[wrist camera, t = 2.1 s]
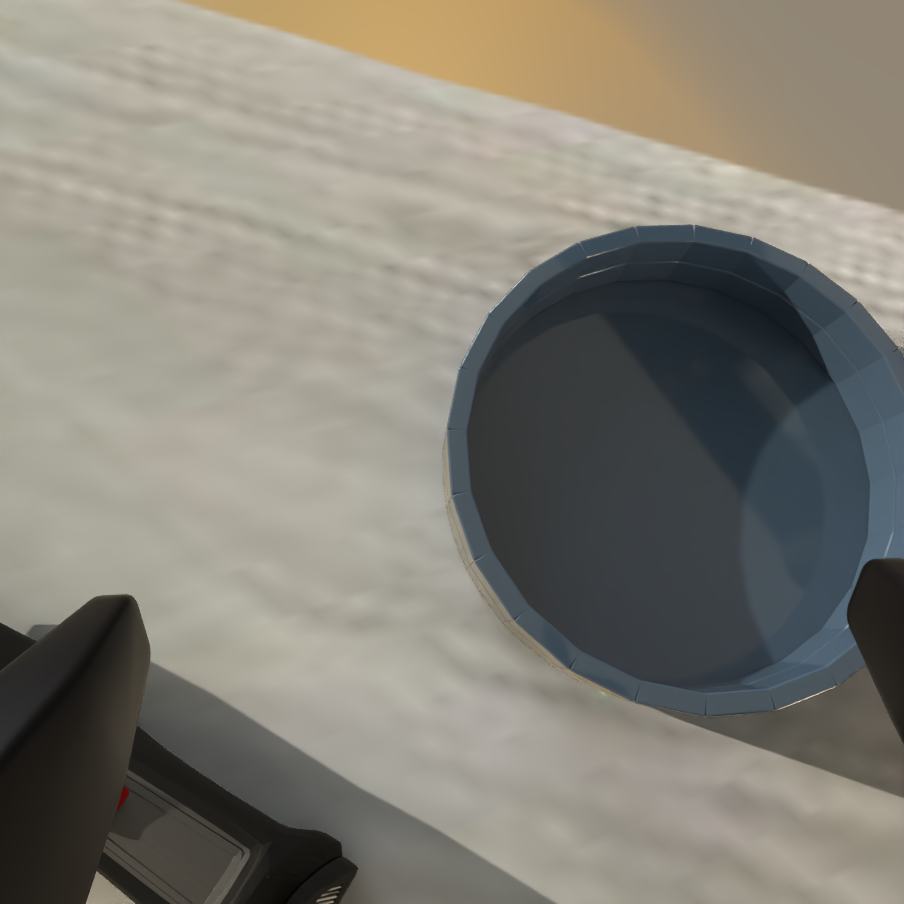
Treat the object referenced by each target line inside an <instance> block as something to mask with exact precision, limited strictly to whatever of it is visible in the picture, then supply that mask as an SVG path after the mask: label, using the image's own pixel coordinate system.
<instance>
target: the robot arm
mask: <svg viewBox="0 0 904 904" xmlns="http://www.w3.org/2000/svg"><path fill="white" fill-rule="evenodd" d="M847 621H848V625H849V628H850V630H851V632H852V635H853V637H854V639H855V641H856V643H857V646H858V648H859V650H860V652H861V654H862V657H863V659H864V661H865V663H866V665H867V667H868V670H869V672H870V674H871V676H872V678H873V681H874V683H875V685H876V687H877V689H878V692H879V694H880V696H881V698H882V700H883V703H884V705H885V707H886V709H887V711H888V714H889V716H890V718H891V720H892V722H893V724H894V726H895V728H896V730H897V732H898V734H899V736H900V738H901V740H902V742H903V744H904V559H902V558H883V559H872V560H869V561H868V562H867V563H866V564H865V565H864V566H863V568H862V570H861V572H860V575H859V578H858V580H857V583H856V585H855V588H854V591H853V593H852V596H851V598H850V601H849V604H848V607H847ZM149 664H150V644H149V640H148V637H147V634H146V630H145V627H144V624H143V620H142V617H141V614H140V610H139V607H138V604H137V602H136V600H135V599H134V597H132V596H131V595H127V594H123V595H102V596H97V597H95V598H93V599H91V600H90V601H88V602H87V603H86V604H85V605H83V606H82V607H81V608H80V609H78V610H77V611H76V612H74V613H73V614H72V615H71V616H69V617H68V618H67V619H66V620H64V621H63V622H62V623H61V624H59V625H58V626H57V627H55V628H54V629H53V630H52V631H50V632H49V633H48V634H47V635H45V636H44V637H43V638H41V639H40V640H39V641H38V642H36V643H35V644H34V645H33V646H31V647H30V648H29V649H28V650H26V651H25V652H24V653H22V654H21V655H20V656H19V657H17V658H16V659H15V660H14V661H12V662H11V663H10V664H9V665H7V666H6V667H5V668H3V669H2V670H1V671H0V904H86V901H87V898H88V895H89V892H90V889H91V886H92V883H93V880H94V877H95V874H96V871H97V868H98V865H99V861H100V858H101V855H102V852H103V849H104V846H105V843H106V840H107V837H108V834H109V831H110V828H111V825H112V822H113V819H114V816H115V813H116V810H117V807H118V803H119V800H120V797H121V793H122V790H123V787H124V782H125V778H126V774H127V770H128V765H129V760H130V756H131V751H132V746H133V741H134V736H135V732H136V727H137V722H138V717H139V713H140V708H141V703H142V698H143V693H144V689H145V684H146V679H147V674H148V670H149Z"/></svg>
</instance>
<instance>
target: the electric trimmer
mask: <svg viewBox="0 0 904 904" xmlns="http://www.w3.org/2000/svg"><path fill="white" fill-rule="evenodd" d="M35 643H36V641H34V640H32V639H30V638H28V637H26V636H25V635H23V634H21V633H19V632H17V631H15V630H13V629H11V628H9V627H7V626H6V625H4V624H2V623H0V671H1V670H2V669H3V668H5V667H6V666H7V665H9V664H10V663H11V662H12V661H14V660H15V659H16V658H17V657H19V656H20V655H21V654H22V653H24V652H25V651H26V650H28V649H29V648H30V647H31V646H33V645H34V644H35ZM357 870H358V868H357V866H356V865H354V864H353V863H352V862H350V861H349V860H348V859H346V858H344V857H342V846H341V843H340V842H339V841H337V840H336V839H334V838H333V837H331V836H329V835H328V834H326V833H323V832H320V831H315V830H304V829H295V828H289V827H286V826H284V825H282V824H280V823H278V822H276V821H275V820H273V819H271V818H270V817H268V816H267V815H265V814H263V813H262V812H260V811H258V810H257V809H255V808H254V807H252V806H250V805H249V804H247V803H245V802H244V801H242V800H240V799H239V798H237V797H236V796H234V795H232V794H231V793H229V792H228V791H226V790H225V789H223V788H222V787H220V786H219V785H217V784H216V783H214V782H213V781H211V780H210V779H208V778H207V777H205V776H204V775H202V774H201V773H199V772H198V771H196V770H195V769H193V768H192V767H190V766H189V765H187V764H186V763H184V762H183V761H181V760H180V759H179V758H177V757H176V756H174V755H173V754H172V753H170V752H169V751H168V750H166V749H165V748H164V747H162V746H161V745H160V744H159V743H158V742H156V741H155V740H154V739H153V738H151V737H150V736H149V735H148V734H146V733H145V732H144V731H143V730H142V729H140V728H139V727H138V726H137V727H136V732H135V736H134V741H133V746H132V751H131V756H130V760H129V765H128V770H127V774H126V778H125V782H124V787H123V790H122V793H121V797H120V800H119V803H118V807H117V810H116V813H115V816H114V819H113V822H112V825H111V828H110V831H109V834H108V837H107V840H106V843H105V846H104V849H103V852H102V855H101V858H100V861H99V865H98V868H97V871H98V872H99V873H100V874H101V875H102V876H104V877H105V878H106V879H107V880H108V881H109V882H111V883H112V884H113V885H114V886H115V887H117V888H118V889H119V890H120V891H121V892H123V893H124V894H125V895H126V896H127V897H129V898H130V899H131V900H132V901H133V902H135V903H136V904H338V903H339V902H340V900H341V898H342V897H343V895H344V893H345V892H346V890H347V888H348V887H349V885H350V883H351V882H352V880H353V878H354V877H355V875H356V872H357Z"/></svg>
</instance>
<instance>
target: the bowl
mask: <svg viewBox="0 0 904 904" xmlns="http://www.w3.org/2000/svg"><path fill="white" fill-rule="evenodd" d="M442 456H443V485H444V492H445V501H446V509H447V514H448V517H449V521H450V525H451V528H452V532H453V536H454V540H455V543H456V545H457V547H458V550H459V552H460V555H461V557H462V559H463V562H464V564H465V567H466V569H467V571H468V573H469V574H470V576H471V578H472V580H473V581H474V583H475V585H476V586H477V588H478V590H479V592H480V593H481V595H482V597H483V598H484V599H485V601H486V602H487V603H488V605H489V606H490V607H491V609H492V610H493V611H494V612H495V614H496V615H497V616H498V618H499V619H500V620H501V622H502V623H503V624H504V625H505V626H506V627H507V628H508V629H509V630H510V631H511V632H512V633H513V634H514V635H515V636H516V637H517V638H518V639H519V640H520V641H521V642H522V643H523V644H524V645H526V646H527V647H528V648H530V649H531V650H532V651H533V652H535V653H536V654H537V655H538V656H540V657H541V658H542V659H544V660H545V661H546V662H547V663H548V664H549V665H552V666H553V667H554V668H556V669H558V670H560V671H562V672H564V673H566V674H567V675H569V676H571V677H573V678H574V679H576V680H578V681H581V682H583V683H585V684H588V685H590V686H592V687H594V688H596V689H598V690H600V691H602V692H604V693H605V694H608V695H611V696H614V697H617V698H620V699H624V700H627V701H630V702H633V703H636V704H641V705H646V706H651V707H656V708H661V709H666V710H671V711H675V712H680V713H685V714H690V715H695V716H700V717H718V716H730V715H742V714H755V713H767V712H773V711H774V710H775V711H778V710H781V709H783V708H786V707H788V706H791V705H793V704H796V703H798V702H801V701H804V700H806V699H809V698H811V697H814V696H816V695H819V694H821V693H824V692H826V691H829V690H831V689H834V688H836V687H837V686H840V685H841V684H842V683H843V682H845V681H846V680H847V679H848V678H850V677H851V676H852V675H853V674H855V673H856V672H857V671H858V670H859V669H861V668H862V667H863V666H864V665H866V663H865V661H864V659H863V657H862V654H861V652H860V650H859V648H858V646H857V643H856V641H855V639H854V637H853V635H852V632H851V630H850V628H849V625H848V621H847V607H848V604H849V601H850V598H851V596H852V593H853V591H854V588H855V585H856V583H857V580H858V578H859V575H860V572H861V570H862V568H863V566H864V565H865V564H866V563H867V562H868V561H869V560H872V559H883V558H902V559H904V357H903V355H902V353H901V351H900V350H898V347H897V346H896V345H895V343H894V342H893V341H892V340H891V339H890V338H889V336H888V335H887V334H886V333H885V332H884V330H883V329H882V328H881V327H880V326H879V324H878V323H877V322H876V321H875V320H874V319H873V317H872V316H871V315H870V314H869V313H868V311H867V310H866V309H865V308H864V307H863V306H862V304H861V303H860V302H857V299H855V298H854V297H853V296H852V295H850V294H849V293H848V292H846V291H845V290H844V289H842V288H841V287H840V286H838V285H837V284H836V283H834V282H833V281H832V280H831V279H829V278H828V277H827V276H825V275H824V274H823V273H821V272H820V271H819V270H817V269H816V268H815V267H813V266H812V265H811V264H808V263H807V262H806V261H804V260H802V259H799V258H797V257H795V256H793V255H791V254H789V253H786V252H784V251H782V250H780V249H778V248H776V247H773V246H771V245H769V244H767V243H765V242H763V241H760V240H758V239H756V238H752V237H750V236H745V235H741V234H736V233H731V232H726V231H722V230H717V229H712V228H707V227H703V226H698V225H694V226H693V225H659V226H636V227H630V228H626V229H623V230H619V231H615V232H612V233H608V234H605V235H601V236H598V237H594V238H591V239H587V240H583V241H580V242H579V243H575V244H574V245H572V246H570V247H569V248H567V249H565V250H564V251H562V252H560V253H559V254H557V255H555V256H554V257H552V258H550V259H548V260H547V261H545V262H543V263H542V264H540V265H538V266H537V267H535V268H533V269H532V270H530V271H529V272H528V273H526V274H525V275H524V276H523V277H522V278H521V279H520V280H519V281H518V282H517V284H516V285H515V286H514V287H513V288H512V289H511V290H510V291H509V292H508V293H507V294H506V295H505V296H504V297H503V298H502V299H501V300H500V301H499V302H498V303H497V304H496V306H495V307H494V308H493V309H492V310H491V311H490V312H489V313H488V315H487V316H486V317H485V319H484V321H483V323H482V325H481V327H480V329H479V331H478V333H477V334H476V336H475V338H474V340H473V342H472V344H471V346H470V348H469V350H468V352H467V354H466V355H465V357H464V359H463V361H462V363H461V365H460V369H459V370H458V375H457V380H456V385H455V390H454V394H453V399H452V404H451V409H450V414H449V419H448V423H447V428H446V433H445V439H444V444H443V451H442Z"/></svg>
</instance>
